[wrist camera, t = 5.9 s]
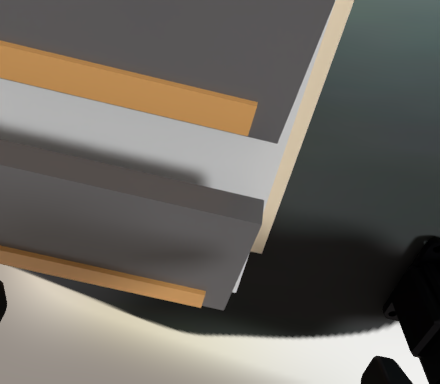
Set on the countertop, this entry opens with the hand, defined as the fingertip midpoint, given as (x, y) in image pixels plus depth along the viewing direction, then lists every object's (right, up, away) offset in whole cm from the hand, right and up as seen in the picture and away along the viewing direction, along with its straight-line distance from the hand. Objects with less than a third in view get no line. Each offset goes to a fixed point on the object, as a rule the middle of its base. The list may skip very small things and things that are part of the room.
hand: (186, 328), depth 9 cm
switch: (-4, +2, +5) cm, 7 cm away
